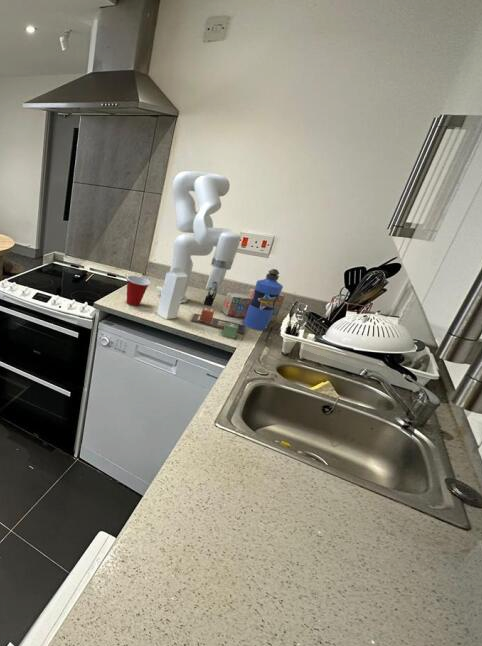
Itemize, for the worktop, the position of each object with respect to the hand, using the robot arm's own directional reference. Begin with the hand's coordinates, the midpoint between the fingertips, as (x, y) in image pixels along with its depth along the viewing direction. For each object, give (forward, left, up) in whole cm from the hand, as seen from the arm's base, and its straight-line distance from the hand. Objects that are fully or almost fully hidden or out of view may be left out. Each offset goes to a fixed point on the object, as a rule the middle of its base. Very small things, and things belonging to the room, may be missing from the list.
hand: (209, 301), depth 166 cm
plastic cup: (-30, -2, -9) cm, 32 cm away
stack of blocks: (+17, +20, -9) cm, 28 cm away
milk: (-14, -7, -9) cm, 18 cm away
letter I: (+11, -11, -8) cm, 17 cm away
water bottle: (+20, +9, -9) cm, 23 cm away
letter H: (+1, -1, -8) cm, 8 cm away
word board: (+6, -1, -8) cm, 10 cm away
